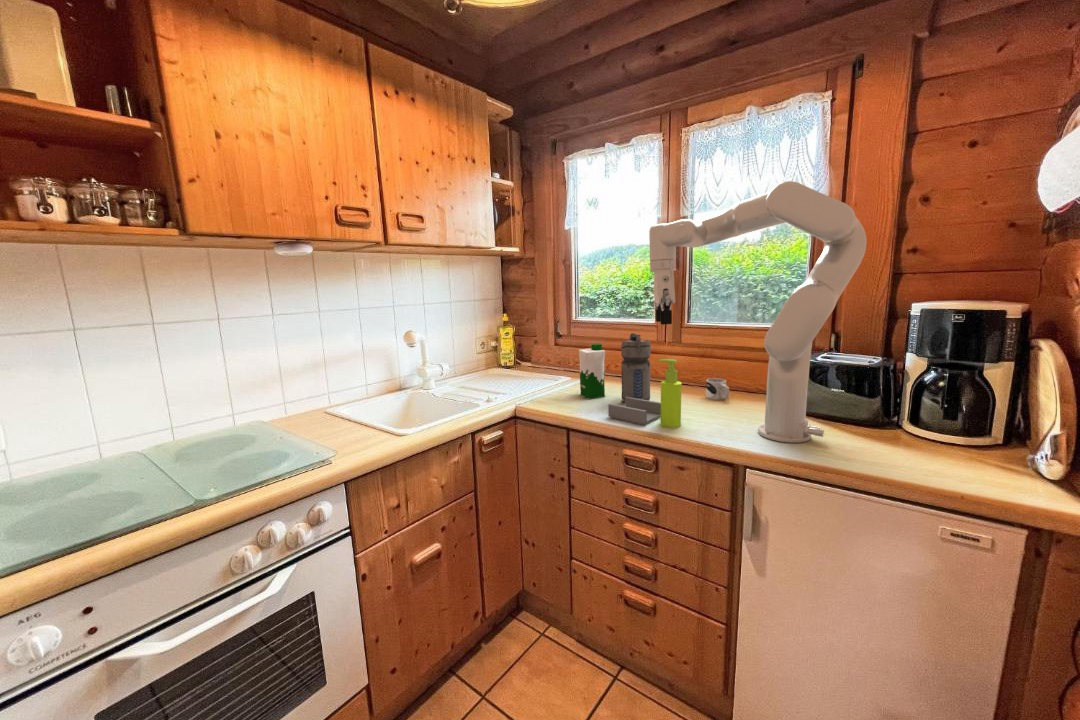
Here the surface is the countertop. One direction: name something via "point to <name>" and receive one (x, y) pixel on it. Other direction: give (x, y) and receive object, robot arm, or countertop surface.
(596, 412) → the countertop surface
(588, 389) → the soya milk
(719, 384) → the mug
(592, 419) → the countertop surface
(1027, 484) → the countertop surface
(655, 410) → the cradle
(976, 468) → the countertop surface
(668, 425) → the soap dispenser
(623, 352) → the beverage bottle
